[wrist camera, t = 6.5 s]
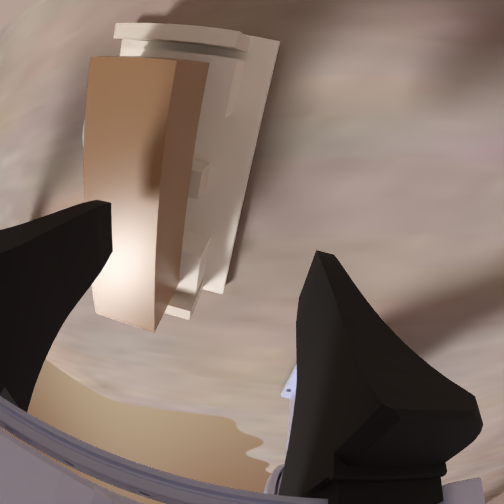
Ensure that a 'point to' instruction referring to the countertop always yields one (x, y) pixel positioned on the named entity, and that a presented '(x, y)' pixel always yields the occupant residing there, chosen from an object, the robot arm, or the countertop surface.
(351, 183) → the countertop surface
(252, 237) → the countertop surface
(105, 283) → the tan wooden plank
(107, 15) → the countertop surface
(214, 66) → the display stand
